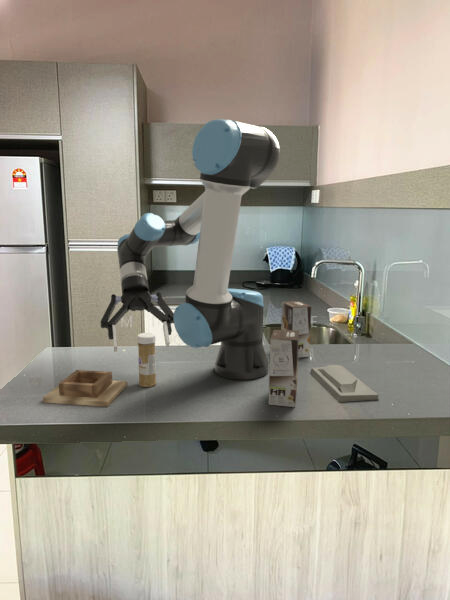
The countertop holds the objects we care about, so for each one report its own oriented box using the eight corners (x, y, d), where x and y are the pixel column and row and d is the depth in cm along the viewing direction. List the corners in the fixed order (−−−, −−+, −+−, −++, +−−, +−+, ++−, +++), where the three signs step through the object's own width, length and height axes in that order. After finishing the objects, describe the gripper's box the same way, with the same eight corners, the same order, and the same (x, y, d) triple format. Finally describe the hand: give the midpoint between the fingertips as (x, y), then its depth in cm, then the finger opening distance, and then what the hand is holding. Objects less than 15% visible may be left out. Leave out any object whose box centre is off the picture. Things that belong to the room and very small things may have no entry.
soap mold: (338, 404, 109) (339, 390, 108) (309, 374, 128) (310, 363, 128) (378, 401, 111) (379, 388, 110) (344, 373, 130) (344, 361, 129)
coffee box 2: (295, 407, 106) (298, 340, 103) (267, 405, 107) (269, 338, 104) (297, 392, 115) (299, 329, 111) (271, 390, 116) (273, 328, 113)
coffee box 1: (310, 357, 142) (312, 306, 139) (291, 358, 140) (292, 307, 137) (297, 348, 151) (299, 300, 147) (279, 350, 149) (280, 301, 146)
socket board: (127, 385, 119) (126, 370, 118) (107, 406, 106) (107, 389, 105) (68, 382, 121) (67, 366, 120) (42, 402, 108) (41, 385, 107)
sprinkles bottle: (135, 384, 119) (133, 334, 117) (148, 379, 123) (147, 331, 120) (146, 389, 116) (145, 338, 114) (160, 384, 120) (159, 334, 117)
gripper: (175, 287, 138) (186, 349, 127) (89, 291, 131) (93, 357, 120) (178, 272, 132) (190, 336, 121) (88, 275, 125) (92, 343, 114)
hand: (142, 347), depth 121 cm, fingers open, 13 cm apart
